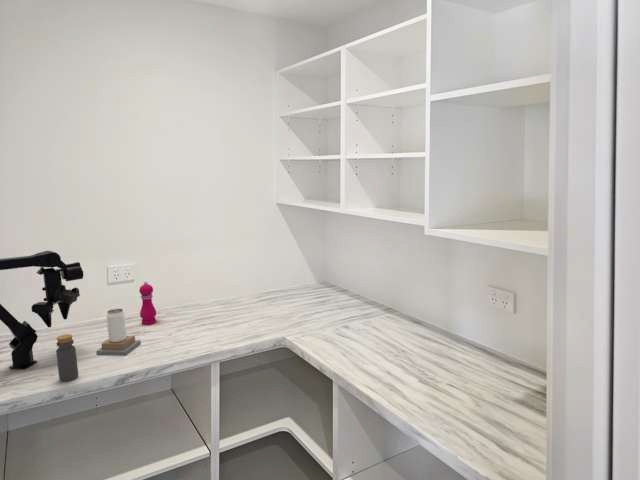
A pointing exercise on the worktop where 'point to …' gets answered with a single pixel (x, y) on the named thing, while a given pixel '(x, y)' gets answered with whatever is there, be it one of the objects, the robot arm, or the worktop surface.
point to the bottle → (66, 358)
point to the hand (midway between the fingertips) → (57, 323)
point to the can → (116, 325)
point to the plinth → (119, 352)
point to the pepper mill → (147, 304)
